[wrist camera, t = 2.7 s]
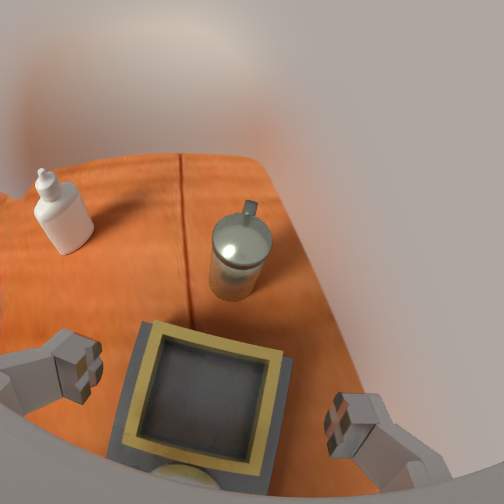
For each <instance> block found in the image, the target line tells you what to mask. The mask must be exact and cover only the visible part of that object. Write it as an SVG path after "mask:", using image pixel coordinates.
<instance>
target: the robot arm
mask: <svg viewBox="0 0 504 504" xmlns="http://www.w3.org/2000/svg"><path fill="white" fill-rule="evenodd" d="M101 352H102V347H101V343H100V342H99V341H97V340H94V339H92V338H89V337H86V336H84V335H81V334H79V333H76V332H73V331H71V330H69V329H66V328H63V329H61V330H60V331H59V332H57V333H56V334H55V335H54V336H53V337H52V338H51V339H49V340H48V341H47V342H46V343H45V344H44V345H43V346H42V347H40V348H39V349H38V348H31V349H27V350H22V351H17V352H13V353H8V354H3V355H0V504H504V462H501V463H499V464H496V465H493V466H491V467H488V468H485V469H483V470H480V471H477V472H474V473H471V474H467V475H464V476H461V477H458V478H454V479H453V478H452V476H451V474H450V472H449V470H448V468H447V466H446V464H445V462H444V460H443V457H442V456H441V455H440V454H438V453H437V452H435V451H434V450H432V449H431V448H430V447H428V446H427V445H425V444H424V443H423V442H421V441H420V440H418V439H417V438H416V437H414V436H413V435H411V434H410V433H409V432H407V431H406V430H404V429H403V428H402V427H400V426H399V425H398V424H393V423H392V420H391V418H390V416H389V414H388V412H387V410H386V407H385V405H384V403H383V401H382V398H381V396H380V395H379V394H368V393H365V394H360V393H344V392H339V393H338V394H337V395H336V396H335V398H334V400H333V401H334V405H335V406H333V407H332V408H330V409H329V410H328V412H327V415H326V417H325V422H324V430H325V434H326V435H327V436H328V437H329V438H330V439H329V441H328V443H327V446H328V451H329V456H330V458H353V461H354V462H355V463H356V464H357V465H358V466H359V467H360V468H361V470H362V471H363V472H364V473H365V474H366V475H367V476H368V477H369V478H370V480H371V481H372V482H373V483H374V484H375V485H376V486H377V487H378V488H379V489H380V490H381V492H380V493H379V494H370V495H360V496H346V497H315V498H309V497H279V496H265V495H254V494H245V493H238V492H230V491H224V490H218V489H212V488H207V487H202V486H197V485H192V484H188V483H184V482H179V481H175V480H171V479H168V478H164V477H160V476H157V475H153V474H150V473H147V472H144V471H140V470H137V469H134V468H131V467H128V466H126V465H123V464H120V463H117V462H115V461H112V460H109V459H107V458H104V457H102V456H99V455H97V454H94V453H92V452H90V451H87V450H85V449H83V448H81V447H78V446H76V445H74V444H72V443H70V442H68V441H66V440H64V439H62V438H60V437H58V436H56V435H54V434H52V433H50V432H48V431H46V430H45V429H43V428H41V427H39V426H37V425H36V424H34V423H32V422H31V421H29V420H27V419H26V418H25V417H24V415H26V414H28V413H30V412H33V411H35V410H37V409H39V408H41V407H44V406H46V405H48V404H50V403H52V402H55V401H57V400H59V399H61V398H62V397H65V398H67V399H69V400H72V401H74V402H76V403H79V404H81V405H83V404H84V403H85V401H86V400H87V399H88V397H89V396H90V394H91V389H90V388H92V387H95V386H97V384H98V383H99V381H100V379H101V376H102V374H103V361H102V360H101V358H100V357H99V355H100V354H101Z"/></svg>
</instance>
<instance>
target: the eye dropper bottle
mask: <svg viewBox="0 0 504 504" xmlns="http://www.w3.org/2000/svg"><path fill="white" fill-rule="evenodd" d="M38 176H39V178H38V179H37V181H36V183H35V187H36V189H37V191H38V193H39V195H40V197H41V198H40V200H39V201H38V203H37V205H36V207H35V210H34V214H35V217H36V218H37V220H38V222H39V223H40V225H41V226H42V228H43V229H44V231H45V232H46V234H47V235H48V237H49V238H50V240H51V241H52V243H53V244H54V246H55V247H56V248H57V250H58V251H59V252H60V254H62V255H67V254H70V253H72V252H74V251H75V250H77V249H78V248H80V247H81V246H82V245H83V244H84V243H85V242H86V241H87V240H88V239H89V237H90V236H91V235H92V233H93V231H94V224H93V222H92V220H91V217H90V215H89V213H88V211H87V208H86V206H85V204H84V201H83V199H82V197H81V195H80V192H79V190H78V189H77V187H76V186H75V185H74V184H73V183H71V182H64V183H61V184H59V181H58V179H57V177H56V175H55V173H53V172H46V171H45V170H44V169H43V168H41V169H39V170H38Z"/></svg>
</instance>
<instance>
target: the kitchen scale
mask: <svg viewBox="0 0 504 504" xmlns="http://www.w3.org/2000/svg"><path fill="white" fill-rule="evenodd" d="M292 364H293V358H290V357H285V356H283V351H281V350H276V349H271V348H266V347H261V346H257V345H252V344H248V343H243V342H239V341H234V340H230V339H226V338H222V337H218V336H214V335H210V334H206V333H202V332H198V331H194V330H190V329H187V328H183V327H179V326H176V325H172V324H169V323H165V322H162V321H158V320H154V323H153V324H150V323H147V322H144V321H142V323H141V326H140V330H139V333H138V336H137V339H136V343H135V346H134V349H133V353H132V356H131V359H130V363H129V366H128V370H127V373H126V377H125V381H124V384H123V388H122V392H121V396H120V400H119V404H118V408H117V412H116V416H115V420H114V424H113V429H112V433H111V438H110V442H109V447H108V452H107V457H106V458H107V459H109V460H112V461H115V462H117V463H120V464H123V465H126V466H128V467H131V468H134V469H137V470H140V471H144V472H147V473H150V474H153V475H157V476H160V477H164V478H168V479H171V480H175V481H179V482H184V483H188V484H192V485H197V486H202V487H207V488H212V489H218V490H224V491H230V492H238V493H245V494H254V495H265V496H267V493H268V488H269V484H270V480H271V475H272V471H273V466H274V461H275V457H276V452H277V447H278V442H279V437H280V432H281V427H282V422H283V416H284V411H285V405H286V400H287V394H288V388H289V382H290V376H291V370H292Z"/></svg>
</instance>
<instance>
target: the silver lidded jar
mask: <svg viewBox="0 0 504 504" xmlns="http://www.w3.org/2000/svg"><path fill="white" fill-rule="evenodd" d="M257 206H258V203H257V202H254V201H251V200H245V204H244V208H243V212H242V213H235V214H230V215H228V216H226V217H224V218H223V219H221V220H220V221H219V222H218V223H217V224H216V226H215V228H214V230H213V236H212V253H211V264H210V275H209V284H210V287H211V289H212V291H213V292H214V294H215V295H216V296H217V297H219V298H220V299H222V300H225V301H229V302H237V301H241V300H243V299H245V298H246V297H248V296H249V295H250V293H251V292H252V290H253V288H254V286H255V283H256V281H257V279H258V276H259V274H260V272H261V269H262V267H263V265H264V262H265V260H266V258H267V257H268V255H269V252H270V250H271V247H272V235H271V232H270V230H269V228H268V227H267V225H266V224H265V223H264V222H263V221H262V220H260V219H259V218H257V217H255V214H256V210H257Z"/></svg>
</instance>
